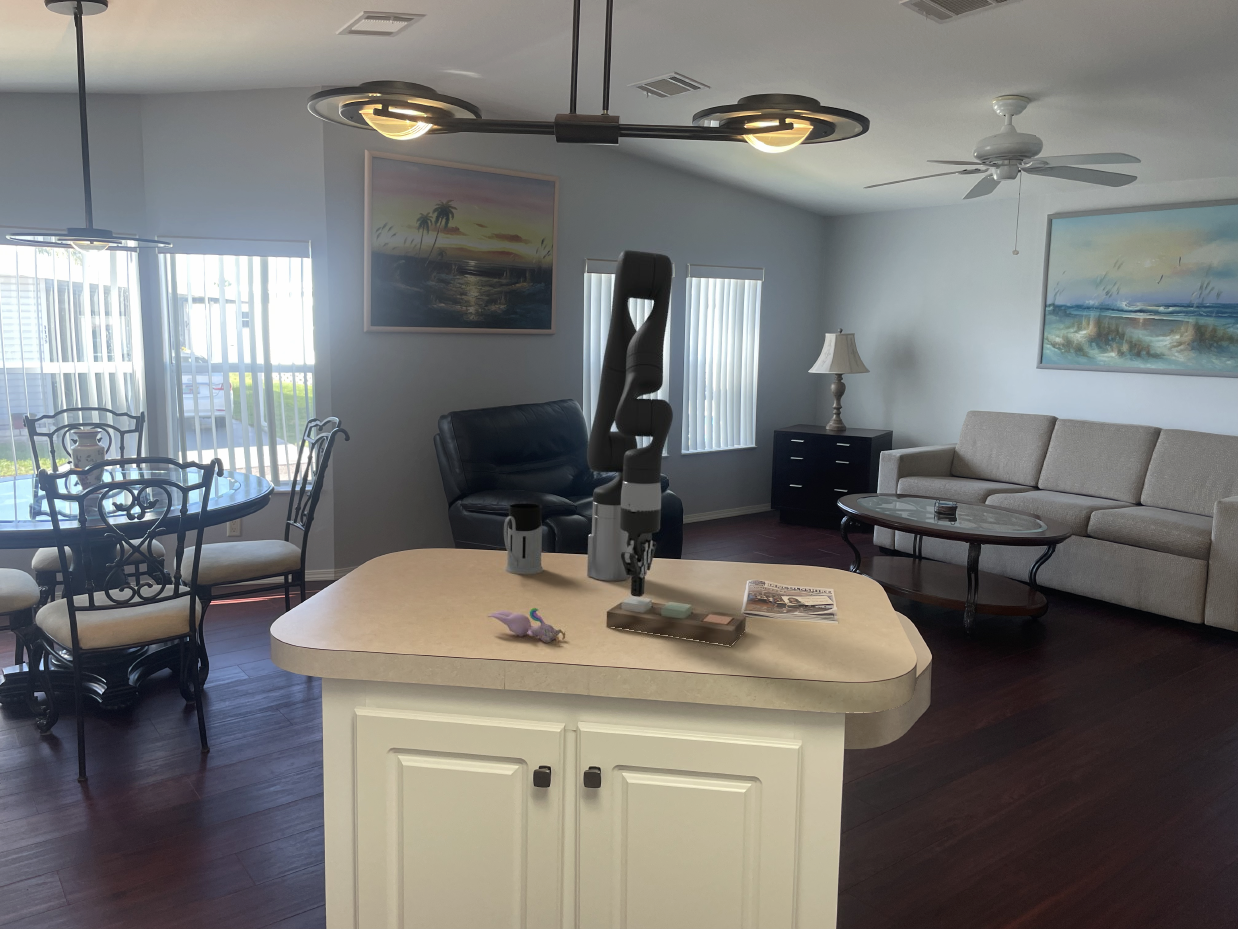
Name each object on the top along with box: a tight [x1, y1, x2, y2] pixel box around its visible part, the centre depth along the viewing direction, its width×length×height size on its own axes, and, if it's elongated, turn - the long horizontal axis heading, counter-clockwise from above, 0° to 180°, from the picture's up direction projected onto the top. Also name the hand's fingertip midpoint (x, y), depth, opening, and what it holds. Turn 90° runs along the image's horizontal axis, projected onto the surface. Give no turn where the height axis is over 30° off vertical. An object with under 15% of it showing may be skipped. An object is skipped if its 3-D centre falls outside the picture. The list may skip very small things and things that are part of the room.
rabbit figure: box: [486, 607, 566, 645], centre depth 160 cm, size 6×6×15 cm
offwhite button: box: [621, 595, 653, 613], centre depth 170 cm, size 4×4×3 cm
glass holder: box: [503, 502, 544, 575], centre depth 205 cm, size 9×14×15 cm, turn 159°
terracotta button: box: [703, 614, 733, 625], centre depth 164 cm, size 4×4×3 cm
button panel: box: [605, 601, 747, 647], centre depth 168 cm, size 24×10×3 cm, turn 68°
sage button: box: [661, 601, 693, 619], centre depth 167 cm, size 4×4×3 cm
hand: (637, 595), depth 170 cm, fingers closed
